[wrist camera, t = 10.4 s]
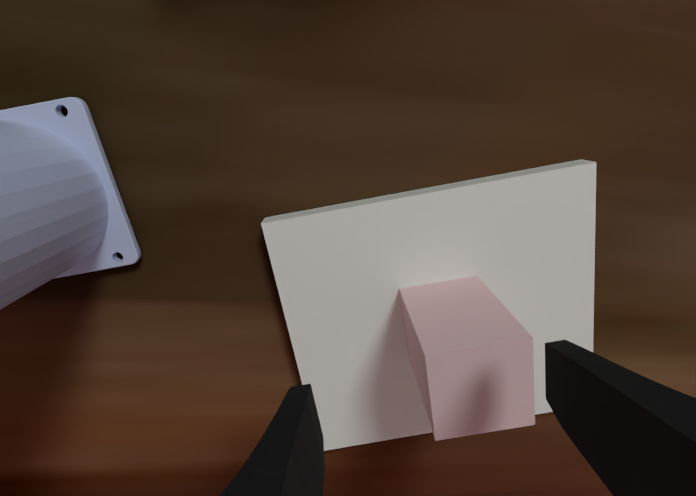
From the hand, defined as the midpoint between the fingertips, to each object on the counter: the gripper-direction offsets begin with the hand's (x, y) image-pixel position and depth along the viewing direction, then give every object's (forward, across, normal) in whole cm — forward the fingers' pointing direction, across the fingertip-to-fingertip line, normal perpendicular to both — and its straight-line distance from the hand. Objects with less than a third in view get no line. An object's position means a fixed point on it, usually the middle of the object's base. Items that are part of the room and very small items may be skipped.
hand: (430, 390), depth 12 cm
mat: (+10, -2, +3) cm, 10 cm away
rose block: (+9, -2, +3) cm, 9 cm away
